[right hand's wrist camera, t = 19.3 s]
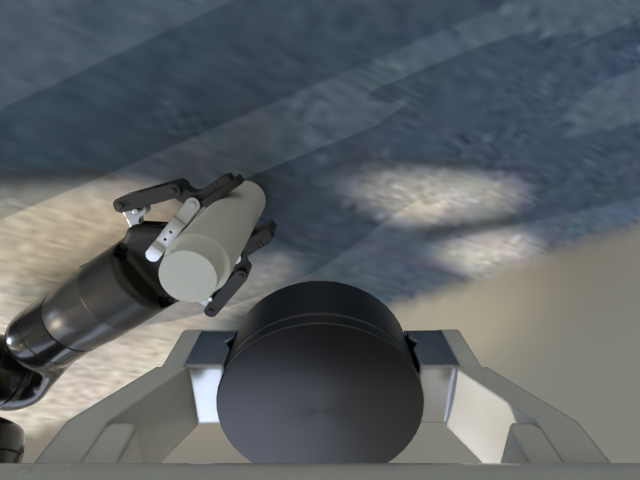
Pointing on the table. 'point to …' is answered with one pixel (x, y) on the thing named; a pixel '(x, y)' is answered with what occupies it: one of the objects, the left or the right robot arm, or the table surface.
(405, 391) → the lid
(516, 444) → the right robot arm
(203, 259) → the grey cylinder
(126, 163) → the table surface
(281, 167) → the table surface
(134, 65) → the table surface
